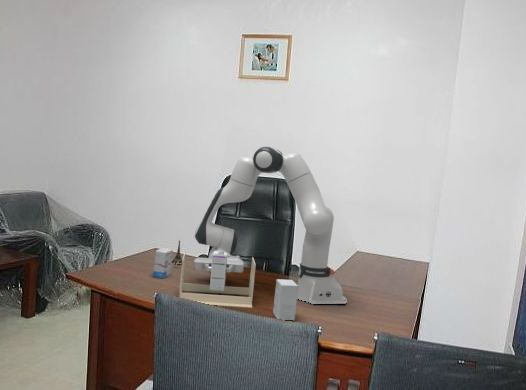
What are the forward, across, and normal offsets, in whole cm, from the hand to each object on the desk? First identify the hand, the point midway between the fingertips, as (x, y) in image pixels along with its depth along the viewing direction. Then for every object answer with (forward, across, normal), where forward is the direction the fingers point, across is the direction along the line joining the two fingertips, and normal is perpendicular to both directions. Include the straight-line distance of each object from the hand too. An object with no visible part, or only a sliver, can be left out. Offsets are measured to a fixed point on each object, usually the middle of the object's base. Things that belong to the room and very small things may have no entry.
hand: (218, 270), depth 184 cm
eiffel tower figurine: (-51, -20, +12) cm, 56 cm away
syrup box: (-1, 0, +8) cm, 8 cm away
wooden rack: (-1, 0, +12) cm, 12 cm away
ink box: (-27, -24, +12) cm, 38 cm away
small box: (+16, +25, +12) cm, 32 cm away
